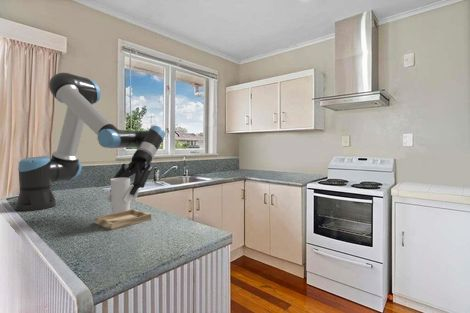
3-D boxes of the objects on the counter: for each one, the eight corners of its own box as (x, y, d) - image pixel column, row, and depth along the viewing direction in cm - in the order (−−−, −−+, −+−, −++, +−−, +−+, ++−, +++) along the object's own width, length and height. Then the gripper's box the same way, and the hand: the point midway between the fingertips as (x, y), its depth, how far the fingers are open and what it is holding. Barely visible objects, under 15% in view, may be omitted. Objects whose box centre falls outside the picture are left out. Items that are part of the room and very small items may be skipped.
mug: (114, 213, 93) (113, 180, 92) (108, 209, 98) (108, 178, 97) (141, 209, 100) (141, 178, 99) (135, 205, 105) (135, 176, 104)
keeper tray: (95, 223, 97) (95, 217, 97) (133, 214, 109) (133, 209, 109) (111, 230, 89) (111, 224, 89) (151, 219, 102) (151, 214, 101)
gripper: (167, 161, 110) (144, 208, 95) (129, 160, 116) (101, 204, 101) (160, 149, 104) (134, 197, 90) (120, 149, 110) (89, 194, 96)
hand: (117, 201), depth 95 cm, fingers closed on mug, 7 cm apart
